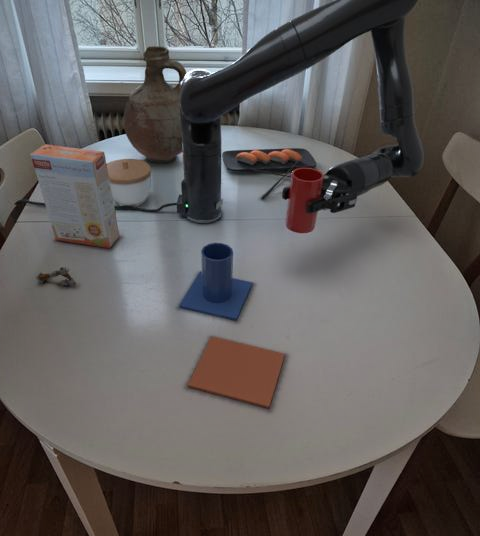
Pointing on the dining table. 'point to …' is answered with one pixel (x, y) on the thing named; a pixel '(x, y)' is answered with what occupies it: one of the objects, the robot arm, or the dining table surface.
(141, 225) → the dining table surface
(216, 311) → the blue mat
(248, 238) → the dining table surface
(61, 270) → the chicken wing bone
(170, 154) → the jug
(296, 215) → the red cup
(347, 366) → the dining table surface
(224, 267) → the blue cup
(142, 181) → the lidded bowl
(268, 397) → the terracotta mat
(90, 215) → the cracker box
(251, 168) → the sushi plate
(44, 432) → the dining table surface
